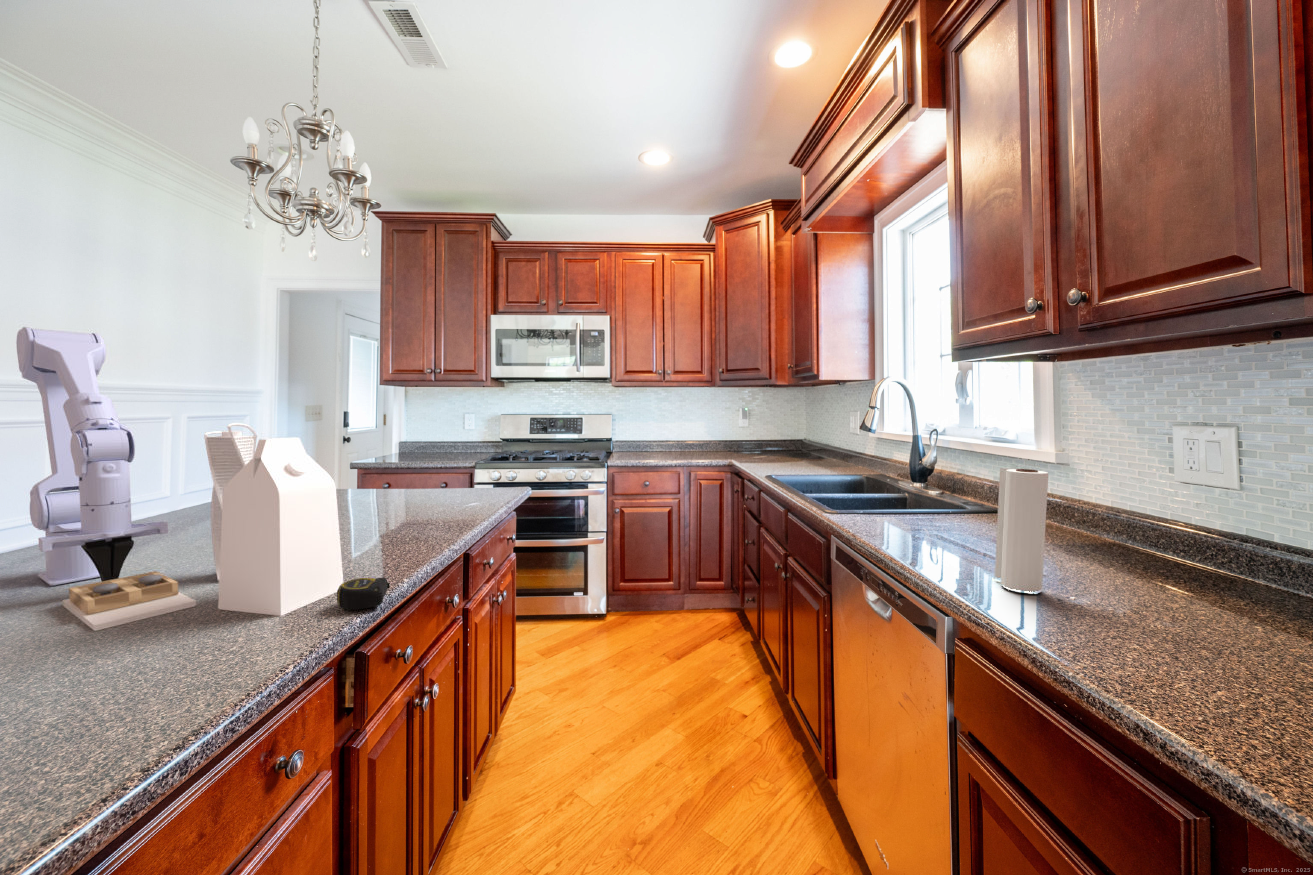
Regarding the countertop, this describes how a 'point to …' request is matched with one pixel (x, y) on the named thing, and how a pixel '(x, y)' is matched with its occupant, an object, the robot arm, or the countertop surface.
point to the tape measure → (362, 593)
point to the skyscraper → (225, 472)
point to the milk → (279, 532)
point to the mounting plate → (130, 607)
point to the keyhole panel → (122, 593)
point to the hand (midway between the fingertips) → (109, 584)
